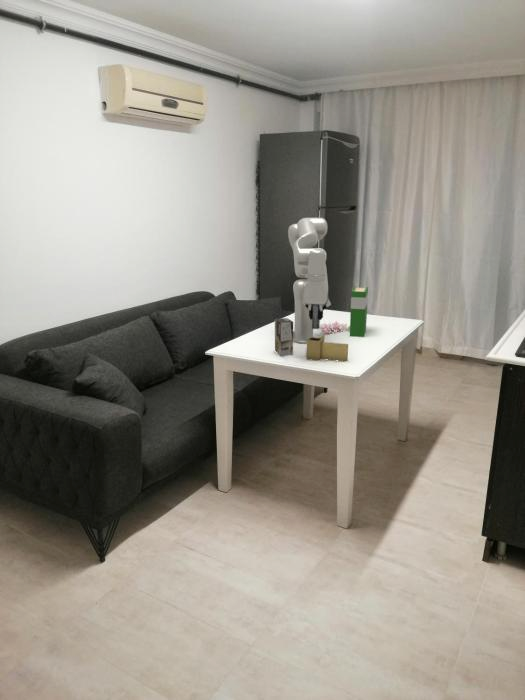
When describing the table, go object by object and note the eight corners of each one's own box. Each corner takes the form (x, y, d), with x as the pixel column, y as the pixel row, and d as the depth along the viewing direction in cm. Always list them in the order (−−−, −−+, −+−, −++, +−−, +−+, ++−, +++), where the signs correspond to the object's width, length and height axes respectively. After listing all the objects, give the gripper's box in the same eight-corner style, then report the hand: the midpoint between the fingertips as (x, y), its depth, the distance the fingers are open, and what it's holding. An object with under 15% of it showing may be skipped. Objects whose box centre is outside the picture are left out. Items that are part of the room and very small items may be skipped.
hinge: (306, 359, 250) (306, 340, 248) (317, 349, 266) (317, 331, 264) (345, 363, 244) (346, 343, 241) (354, 352, 260) (354, 334, 258)
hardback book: (352, 328, 307) (354, 286, 301) (366, 329, 306) (368, 286, 299) (349, 336, 291) (351, 291, 284) (363, 337, 289) (365, 292, 283)
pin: (311, 328, 246) (311, 295, 243) (313, 327, 249) (313, 294, 246) (318, 329, 245) (319, 295, 241) (320, 327, 248) (321, 294, 245)
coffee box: (293, 355, 257) (293, 321, 252) (280, 356, 255) (280, 322, 251) (287, 350, 265) (287, 317, 261) (274, 351, 263) (274, 318, 259)
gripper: (296, 278, 241) (295, 319, 246) (332, 280, 236) (331, 322, 240) (301, 276, 248) (300, 316, 253) (337, 278, 242) (335, 318, 247)
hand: (315, 318), depth 246 cm, fingers closed on pin, 3 cm apart
